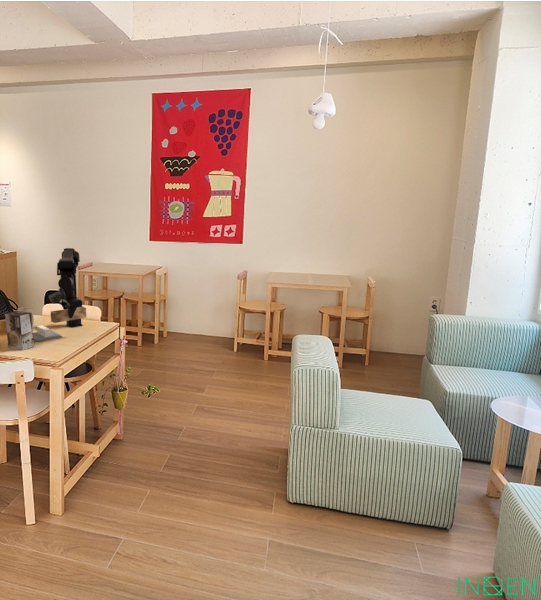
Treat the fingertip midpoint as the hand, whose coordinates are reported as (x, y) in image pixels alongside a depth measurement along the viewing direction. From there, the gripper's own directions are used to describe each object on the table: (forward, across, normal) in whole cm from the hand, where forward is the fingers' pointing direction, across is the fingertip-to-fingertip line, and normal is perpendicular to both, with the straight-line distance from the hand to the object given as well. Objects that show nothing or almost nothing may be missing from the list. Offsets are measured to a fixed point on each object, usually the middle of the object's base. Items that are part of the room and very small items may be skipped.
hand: (69, 317), depth 215 cm
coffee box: (+11, -1, -22) cm, 25 cm away
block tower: (+11, -36, -9) cm, 39 cm away
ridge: (+11, -12, -8) cm, 18 cm away
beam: (+1, 0, 0) cm, 1 cm away
